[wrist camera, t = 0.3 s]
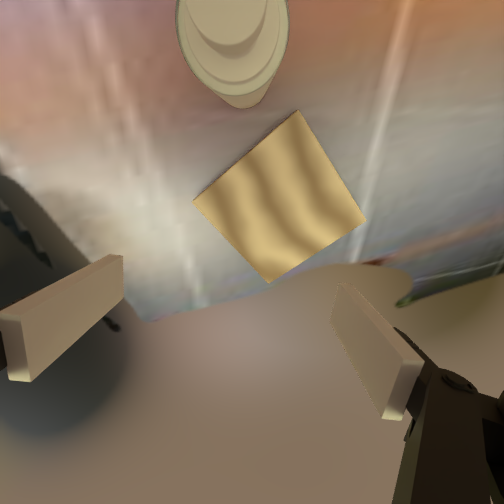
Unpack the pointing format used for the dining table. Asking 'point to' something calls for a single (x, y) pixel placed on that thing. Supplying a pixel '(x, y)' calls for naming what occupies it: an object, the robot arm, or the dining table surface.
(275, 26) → the spray bottle
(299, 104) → the dining table surface
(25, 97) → the dining table surface
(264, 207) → the stand
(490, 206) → the dining table surface
